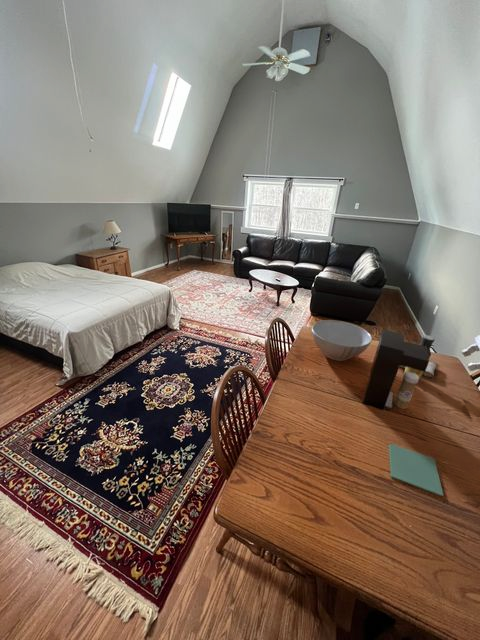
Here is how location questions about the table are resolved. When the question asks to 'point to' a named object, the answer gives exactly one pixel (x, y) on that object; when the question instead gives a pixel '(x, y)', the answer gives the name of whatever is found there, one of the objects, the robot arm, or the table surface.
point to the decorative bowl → (340, 339)
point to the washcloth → (427, 369)
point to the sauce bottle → (427, 342)
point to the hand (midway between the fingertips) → (465, 360)
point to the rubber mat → (414, 469)
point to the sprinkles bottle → (406, 390)
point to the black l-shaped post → (391, 367)
